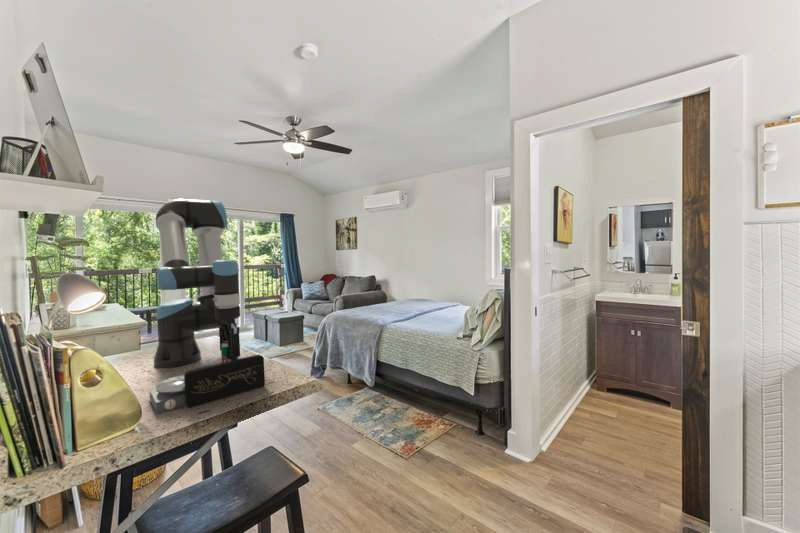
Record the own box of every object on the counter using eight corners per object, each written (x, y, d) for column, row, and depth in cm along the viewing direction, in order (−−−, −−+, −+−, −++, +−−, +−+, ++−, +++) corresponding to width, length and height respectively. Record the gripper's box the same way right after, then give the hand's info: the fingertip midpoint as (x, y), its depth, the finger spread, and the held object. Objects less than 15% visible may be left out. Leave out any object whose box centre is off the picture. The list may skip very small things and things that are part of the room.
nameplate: (262, 384, 108) (261, 353, 107) (265, 386, 106) (263, 355, 105) (186, 406, 94) (183, 371, 93) (187, 409, 92) (185, 373, 92)
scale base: (150, 400, 98) (149, 390, 97) (200, 386, 107) (200, 377, 106) (157, 414, 89) (156, 403, 89) (211, 397, 98) (211, 387, 98)
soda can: (235, 372, 118) (233, 338, 117) (242, 375, 115) (240, 341, 114) (220, 377, 114) (218, 342, 113) (226, 380, 111) (224, 344, 110)
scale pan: (153, 387, 98) (153, 382, 98) (196, 376, 106) (196, 371, 106) (160, 399, 90) (160, 393, 90) (206, 386, 98) (206, 381, 98)
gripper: (207, 304, 116) (210, 370, 118) (224, 311, 104) (228, 385, 105) (230, 301, 122) (233, 364, 123) (249, 308, 109) (252, 378, 110)
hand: (231, 374), depth 114 cm, fingers closed on soda can, 5 cm apart
